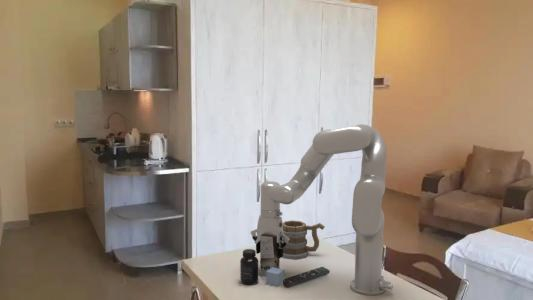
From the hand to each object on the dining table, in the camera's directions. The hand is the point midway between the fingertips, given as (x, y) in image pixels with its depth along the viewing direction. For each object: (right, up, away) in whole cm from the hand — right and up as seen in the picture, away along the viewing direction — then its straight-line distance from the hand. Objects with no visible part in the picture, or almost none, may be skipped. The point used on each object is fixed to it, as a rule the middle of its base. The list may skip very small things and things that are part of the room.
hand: (269, 255), depth 174 cm
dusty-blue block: (+2, -8, -10) cm, 13 cm away
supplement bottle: (-8, -8, -9) cm, 14 cm away
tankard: (+14, -5, +20) cm, 25 cm away
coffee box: (0, -7, +1) cm, 7 cm away
